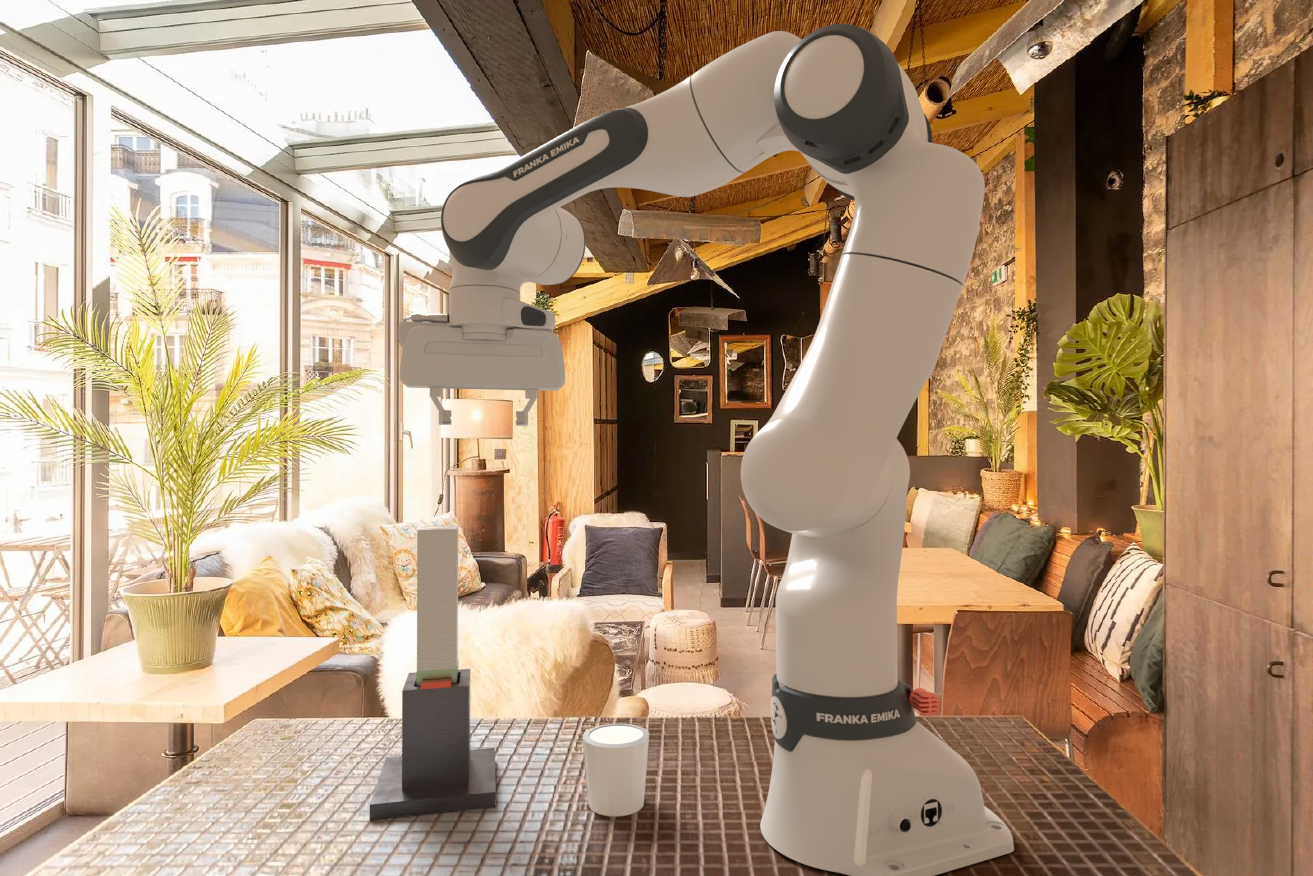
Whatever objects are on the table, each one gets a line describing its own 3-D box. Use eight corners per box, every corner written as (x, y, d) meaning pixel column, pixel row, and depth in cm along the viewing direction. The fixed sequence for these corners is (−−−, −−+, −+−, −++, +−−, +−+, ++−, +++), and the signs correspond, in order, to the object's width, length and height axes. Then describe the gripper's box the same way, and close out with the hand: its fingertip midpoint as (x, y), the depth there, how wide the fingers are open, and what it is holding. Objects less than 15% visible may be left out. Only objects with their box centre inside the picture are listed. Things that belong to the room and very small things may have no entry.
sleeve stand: (494, 760, 87) (494, 655, 88) (495, 807, 76) (495, 685, 76) (386, 770, 85) (386, 662, 85) (369, 820, 73) (370, 694, 74)
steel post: (458, 689, 83) (458, 525, 84) (456, 700, 79) (457, 529, 80) (419, 692, 82) (420, 526, 83) (416, 703, 78) (416, 530, 79)
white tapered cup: (642, 822, 72) (641, 749, 73) (573, 816, 74) (573, 744, 74) (656, 791, 79) (655, 724, 79) (593, 786, 80) (593, 720, 81)
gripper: (395, 307, 90) (394, 423, 89) (567, 315, 94) (566, 425, 94) (401, 316, 96) (400, 425, 96) (561, 323, 100) (561, 427, 100)
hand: (483, 425), depth 95 cm, fingers open, 8 cm apart
